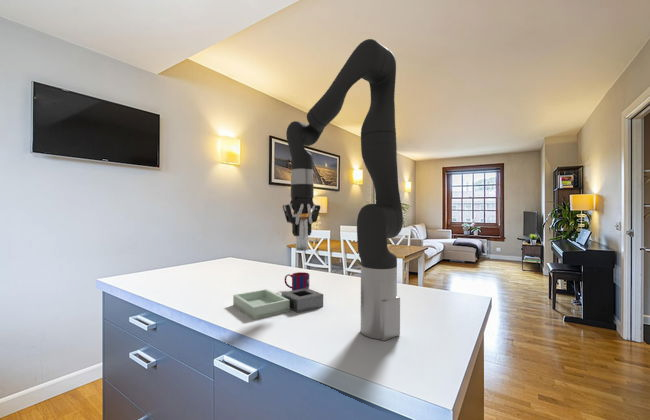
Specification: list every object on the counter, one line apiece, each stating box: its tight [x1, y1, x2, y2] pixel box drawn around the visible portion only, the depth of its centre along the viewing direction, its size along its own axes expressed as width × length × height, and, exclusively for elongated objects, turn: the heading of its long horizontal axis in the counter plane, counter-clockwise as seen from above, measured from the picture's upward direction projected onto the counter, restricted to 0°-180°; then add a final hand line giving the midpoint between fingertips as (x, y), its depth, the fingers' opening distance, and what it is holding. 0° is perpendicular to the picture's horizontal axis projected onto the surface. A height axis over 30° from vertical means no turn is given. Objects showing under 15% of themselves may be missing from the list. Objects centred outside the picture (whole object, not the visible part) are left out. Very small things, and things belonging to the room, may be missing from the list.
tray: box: [232, 288, 291, 320], centre depth 96 cm, size 16×12×3 cm
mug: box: [284, 271, 310, 291], centre depth 117 cm, size 7×10×7 cm
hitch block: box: [280, 288, 324, 314], centre depth 99 cm, size 10×10×4 cm
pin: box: [294, 214, 309, 252], centre depth 99 cm, size 5×5×12 cm
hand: (302, 235), depth 99 cm, fingers closed on pin, 4 cm apart
